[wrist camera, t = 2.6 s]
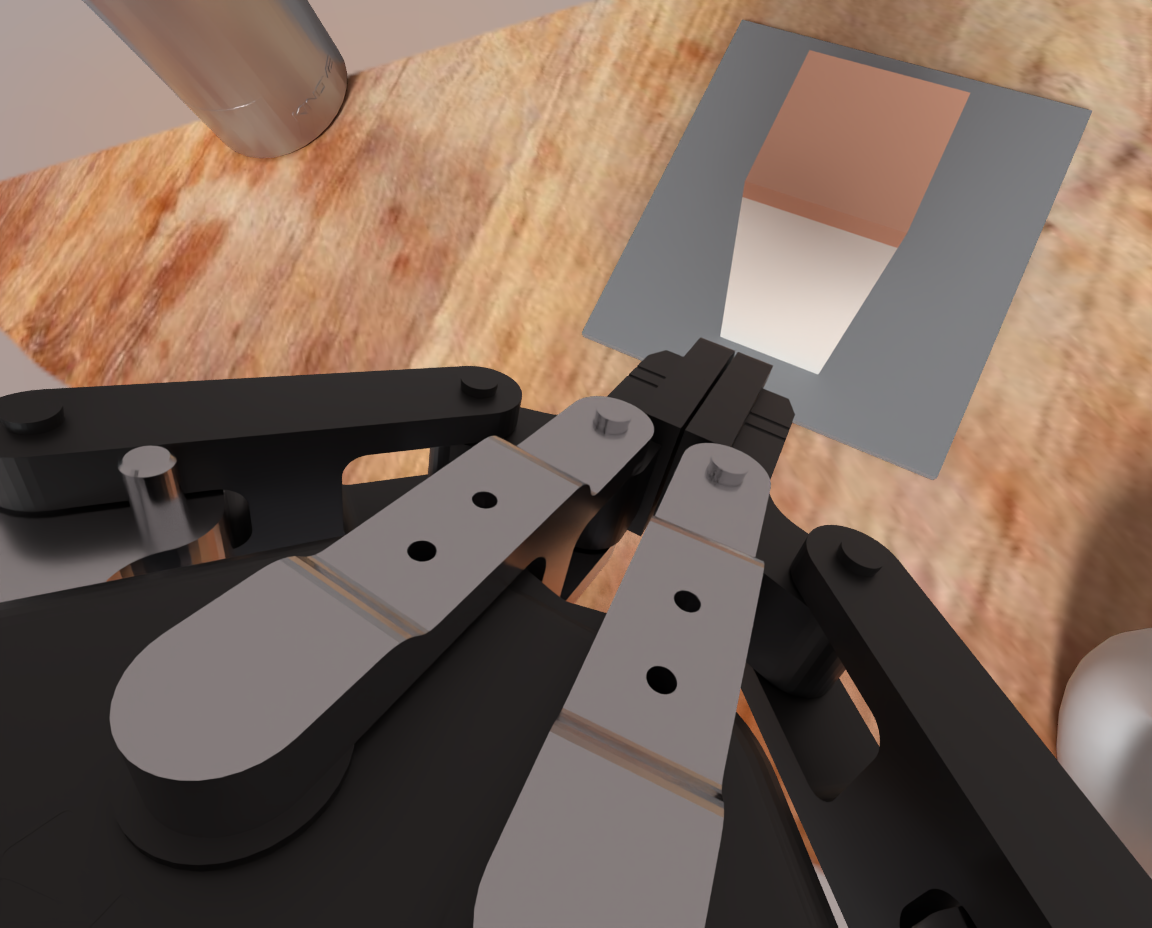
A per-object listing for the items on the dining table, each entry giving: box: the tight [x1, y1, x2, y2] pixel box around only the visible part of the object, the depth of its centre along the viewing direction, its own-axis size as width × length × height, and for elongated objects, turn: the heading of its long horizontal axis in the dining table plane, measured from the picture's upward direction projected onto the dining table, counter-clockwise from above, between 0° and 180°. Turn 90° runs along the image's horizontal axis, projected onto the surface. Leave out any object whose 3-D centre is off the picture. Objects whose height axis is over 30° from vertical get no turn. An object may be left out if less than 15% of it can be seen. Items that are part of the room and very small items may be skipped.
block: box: [720, 50, 970, 374], centre depth 25 cm, size 5×5×12 cm
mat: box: [582, 20, 1092, 480], centre depth 32 cm, size 18×20×1 cm
